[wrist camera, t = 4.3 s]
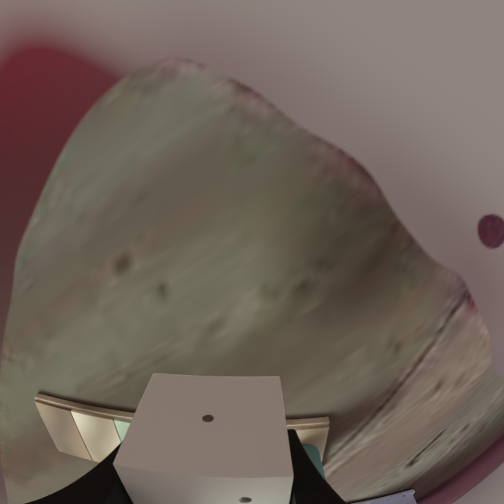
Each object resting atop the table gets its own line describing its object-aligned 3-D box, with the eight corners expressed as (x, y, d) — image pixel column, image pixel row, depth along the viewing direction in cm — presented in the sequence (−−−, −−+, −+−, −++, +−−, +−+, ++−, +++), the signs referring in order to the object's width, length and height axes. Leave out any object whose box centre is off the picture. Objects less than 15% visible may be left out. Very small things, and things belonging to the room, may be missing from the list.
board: (328, 416, 20) (330, 424, 19) (316, 470, 22) (318, 477, 21) (38, 393, 20) (33, 398, 19) (62, 446, 22) (59, 452, 21)
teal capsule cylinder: (321, 441, 20) (339, 515, 13) (316, 466, 21) (330, 533, 14) (279, 444, 20) (286, 521, 13) (277, 468, 21) (283, 539, 14)
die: (279, 375, 12) (294, 476, 7) (274, 455, 13) (281, 541, 8) (153, 371, 12) (111, 463, 7) (171, 451, 13) (151, 533, 8)
